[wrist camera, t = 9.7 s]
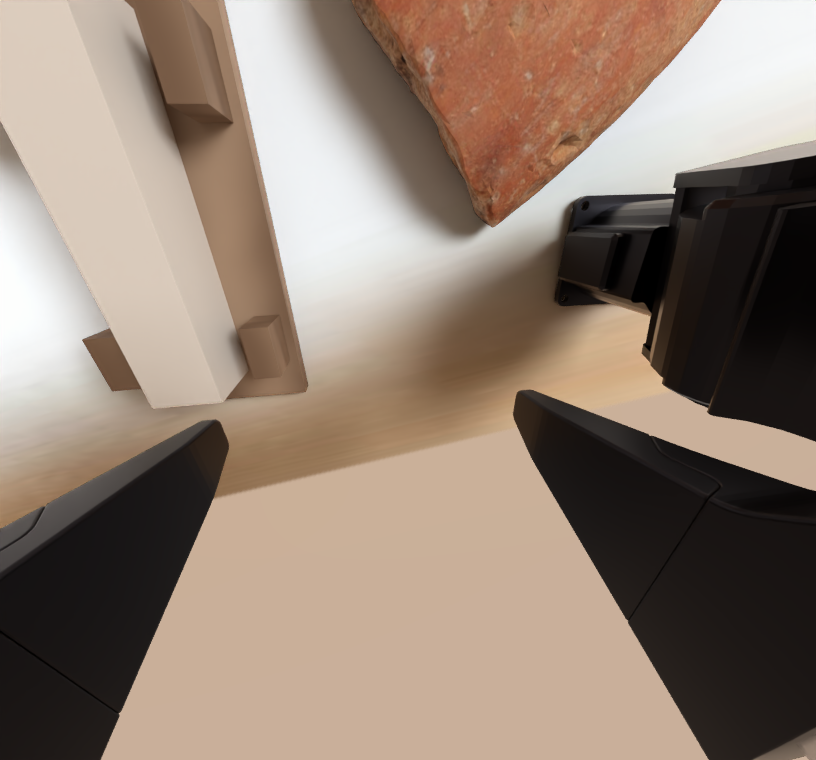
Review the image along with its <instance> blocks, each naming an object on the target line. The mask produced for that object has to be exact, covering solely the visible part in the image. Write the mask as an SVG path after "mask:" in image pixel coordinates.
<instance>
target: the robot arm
mask: <svg viewBox="0 0 816 760" xmlns="http://www.w3.org/2000/svg"><path fill="white" fill-rule="evenodd" d="M673 188H676V192H675V194H641V195H605V196H583V197H580V198H578V199H577V200H576V202H575V203H574V206H573V210H572V215H571V220H570V225H569V230H568V235H567V236H566V239H565V244H564V249H563V254H562V259H561V264H560V269H559V274H558V276H559V279H558V284H557V289H556V294H555V303H556V304H558V305H560V306H574V305H589V304H605V303H611V304H614V305H617V306H620V307H623V308H627V309H630V310H633V311H636V312H639V313H642V314H645V315H648V316H651V319H650V324H649V329H648V334H647V340H646V343H645V344H643V348H642V354H643V355H644V356H645V358H646V359H647V360H648V361H649V362H650V363H651V366H652V367H653V368H654V369H655V370H656V372H657V373H658V374H659V375H660V376H662V377H663V381H662V384H663V385H664V386H665V387H667V388H668V389H670V390H672V391H674V392H676V393H677V394H680V395H681V396H683V397H686V398H688V399H689V400H691V401H693V402H695V403H697V404H700V405H702V406H705V407H707V408H708V411H707V412H708V413H709V414H710V415H713V416H718V417H724V418H731V419H737V420H743V421H749V422H753V423H757V424H761V425H765V426H769V427H773V428H777V429H781V430H784V431H787V432H790V433H793V434H796V435H799V436H802V437H804V438H807V439H810V440H813V441H815V442H816V140H815V141H810V142H805V143H800V144H795V145H790V146H785V147H780V148H776V149H772V150H768V151H764V152H760V153H756V154H752V155H748V156H744V157H740V158H736V159H732V160H728V161H724V162H720V163H716V164H712V165H708V166H704V167H700V168H696V169H692V170H688V171H684V172H680V173H676V176H675V181H674V186H673ZM583 202H584V203H585V207H584V209H583V210H582V209H581V205H582V203H583ZM564 295H565V298H564V300H563V301H561V299H562V297H563V296H564ZM513 416H514V420H515V422H516V425H517V427H518V429H519V431H520V434H521V436H522V438H523V440H524V443H525V445H526V447H527V449H528V452H529V454H530V456H531V458H532V460H533V462H534V463H535V465H536V467H537V469H538V470H539V472H540V474H541V475H542V477H543V479H544V480H545V482H546V484H547V485H548V487H549V489H550V491H551V492H552V494H553V496H554V497H555V499H556V501H557V503H558V504H559V506H560V508H561V509H562V511H563V513H564V514H565V516H566V518H567V519H568V521H569V523H570V525H571V526H572V528H573V530H574V531H575V533H576V535H577V536H578V538H579V540H580V542H581V543H582V545H583V547H584V548H585V550H586V552H587V554H588V555H589V557H590V558H591V560H592V562H593V563H594V565H595V567H596V569H597V570H598V572H599V574H600V576H601V577H602V579H603V581H604V582H605V584H606V586H607V587H608V589H609V591H610V593H611V594H612V596H613V598H614V599H615V601H616V603H617V604H618V606H619V608H620V610H621V611H622V613H623V615H624V616H625V618H626V619H627V620H628V624H629V625H630V627H631V628H632V630H633V632H634V634H635V636H636V637H637V639H638V640H639V642H640V644H641V646H642V647H643V649H644V651H645V652H646V654H647V656H648V657H649V659H650V661H651V662H652V664H653V666H654V668H655V669H656V671H657V673H658V674H659V676H660V678H661V680H662V681H663V683H664V685H665V686H666V688H667V690H668V692H669V693H670V695H671V697H672V698H673V700H674V702H675V703H676V705H677V706H678V708H679V710H680V712H681V714H682V715H683V717H684V718H685V720H686V722H687V724H688V725H689V727H690V729H691V730H692V732H693V734H694V736H695V737H696V739H697V741H698V742H699V744H700V746H701V748H702V749H703V751H704V752H705V754H706V756H707V758H708V759H709V760H791V759H796V758H800V757H804V756H806V757H807V758H808V759H809V760H816V491H813V490H809V489H806V488H802V487H799V486H796V485H793V484H789V483H787V482H784V481H781V480H778V479H774V478H771V477H769V476H766V475H763V474H760V473H757V472H754V471H751V470H748V469H745V468H742V467H739V466H736V465H733V464H730V463H727V462H724V461H721V460H718V459H715V458H712V457H709V456H706V455H703V454H700V453H698V452H695V451H692V450H689V449H686V448H684V447H681V446H678V445H676V444H673V443H670V442H667V441H665V440H662V439H659V438H657V437H654V436H649V435H648V434H646V433H644V432H641V431H638V430H636V429H633V428H631V427H628V426H625V425H622V424H620V423H617V422H615V421H612V420H610V419H607V418H604V417H602V416H599V415H596V414H594V413H591V412H589V411H586V410H583V409H581V408H578V407H575V406H573V405H570V404H568V403H565V402H562V401H560V400H557V399H554V398H552V397H549V396H547V395H544V394H541V393H539V392H536V391H534V390H521V391H518V392H517V394H516V399H515V405H514V411H513ZM228 450H229V443H228V440H227V437H226V435H225V433H224V430H223V428H222V425H221V423H220V422H219V421H218V420H206V421H201V422H199V423H197V424H195V425H193V426H191V427H189V428H187V429H186V430H184V431H182V432H180V433H178V434H176V435H174V436H173V437H171V438H169V439H167V440H165V441H163V442H161V443H160V444H158V445H156V446H154V447H152V448H150V449H148V450H146V451H145V452H143V453H141V454H139V455H137V456H135V457H133V458H132V459H130V460H128V461H126V462H124V463H122V464H120V465H119V466H117V467H115V468H113V469H111V470H109V471H107V472H106V473H104V474H102V475H100V476H98V477H96V478H94V479H93V480H91V481H89V482H87V483H85V484H83V485H81V486H80V487H78V488H76V489H74V490H72V491H70V492H68V493H67V494H65V495H63V496H61V497H59V498H57V499H55V500H53V501H52V502H50V503H48V504H47V505H46V507H40V508H38V509H37V510H35V511H33V512H31V513H29V514H27V515H25V516H24V517H22V518H20V519H18V520H16V521H14V522H12V523H10V524H8V525H7V526H5V527H3V528H1V529H0V760H101V757H102V755H103V753H104V750H105V748H106V746H107V743H108V741H109V739H110V737H111V734H112V732H113V730H114V728H115V725H116V723H117V720H118V718H119V714H118V713H120V712H121V711H122V708H123V706H124V704H125V701H126V699H127V696H128V694H129V692H130V690H131V688H132V685H133V683H134V681H135V678H136V676H137V674H138V671H139V669H140V666H141V665H142V662H143V660H144V658H145V655H146V653H147V650H148V648H149V646H150V644H151V641H152V639H153V637H154V635H155V632H156V630H157V628H158V625H159V623H160V621H161V618H162V616H163V614H164V611H165V609H166V607H167V605H168V602H169V600H170V598H171V595H172V593H173V591H174V588H175V586H176V584H177V581H178V579H179V577H180V575H181V572H182V570H183V568H184V565H185V563H186V561H187V558H188V556H189V554H190V551H191V549H192V547H193V545H194V542H195V540H196V538H197V535H198V533H199V531H200V528H201V526H202V524H203V521H204V519H205V517H206V515H207V512H208V510H209V508H210V505H211V503H212V500H213V498H214V495H215V492H216V489H217V486H218V483H219V479H220V476H221V473H222V470H223V466H224V463H225V460H226V456H227V453H228Z"/></svg>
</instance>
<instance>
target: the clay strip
mask: <svg viewBox="0 0 816 760" xmlns="http://www.w3.org/2000/svg"><path fill="white" fill-rule="evenodd" d="M0 121H1V123H2V125H3V127H4V129H5V131H6V133H7V134H8V136H9V138H10V140H11V142H12V144H13V146H14V148H15V150H16V151H17V153H18V155H19V157H20V159H21V161H22V163H23V165H24V167H25V169H26V170H27V172H28V174H29V176H30V178H31V180H32V182H33V184H34V186H35V187H36V189H37V191H38V193H39V195H40V197H41V199H42V201H43V203H44V205H45V206H46V208H47V210H48V212H49V214H50V216H51V218H52V220H53V222H54V223H55V225H56V227H57V229H58V231H59V233H60V235H61V237H62V239H63V241H64V242H65V244H66V246H67V248H68V250H69V252H70V254H71V256H72V258H73V259H74V261H75V263H76V265H77V267H78V269H79V271H80V273H81V275H82V277H83V278H84V280H85V282H86V284H87V286H88V288H89V290H90V292H91V294H92V295H93V297H94V299H95V301H96V303H97V305H98V307H99V309H100V311H101V313H102V314H103V316H104V318H105V320H106V322H107V324H108V326H109V328H110V330H111V331H112V333H113V335H114V337H115V339H116V341H117V343H118V345H119V347H120V349H121V350H122V352H123V354H124V356H125V358H126V360H127V362H128V364H129V366H130V367H131V369H132V371H133V373H134V375H135V377H136V379H137V381H138V383H139V385H140V386H141V388H142V390H143V392H144V394H145V396H146V398H147V400H148V402H149V403H150V405H151V407H152V409H157V408H169V407H180V406H191V405H203V404H214V403H223V402H224V401H225V399H226V398H227V397H228V395H229V394H230V393H231V392H232V390H233V389H234V388H235V387H236V385H237V384H238V383H239V382H240V380H241V379H242V378H243V377H244V375H245V374H246V373H247V372H248V366H247V363H246V360H245V357H244V354H243V351H242V348H241V344H240V341H239V338H238V335H237V332H236V329H235V326H234V322H233V319H232V316H231V313H230V310H229V307H228V304H227V300H226V297H225V294H224V291H223V288H222V285H221V282H220V278H219V275H218V272H217V269H216V266H215V263H214V260H213V256H212V253H211V250H210V247H209V244H208V241H207V238H206V234H205V231H204V228H203V225H202V222H201V219H200V216H199V213H198V209H197V206H196V203H195V200H194V197H193V194H192V191H191V187H190V184H189V181H188V178H187V175H186V172H185V169H184V165H183V162H182V159H181V156H180V153H179V150H178V147H177V143H176V140H175V137H174V134H173V131H172V128H171V125H170V121H169V118H168V115H167V112H166V109H165V106H164V103H163V99H162V96H161V93H160V90H159V87H158V84H157V81H156V77H155V74H154V71H153V68H152V65H151V62H150V59H149V55H148V52H147V49H146V46H145V43H144V40H143V37H142V34H141V30H140V27H139V24H138V21H137V18H136V15H135V12H134V9H133V8H132V7H131V6H130V5H129V4H128V3H127V2H126V1H124V0H0Z"/></svg>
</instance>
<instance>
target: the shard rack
mask: <svg viewBox="0 0 816 760" xmlns="http://www.w3.org/2000/svg"><path fill="white" fill-rule="evenodd" d="M124 1H126V2H127V3H128V4H129V5H130V6H131V7H132V8H133V9H134V12H135V15H136V18H137V21H138V24H139V27H140V30H141V34H142V37H143V40H144V43H145V46H146V49H147V52H148V55H149V59H150V62H151V65H152V68H153V71H154V74H155V77H156V81H157V84H158V87H159V90H160V93H161V96H162V99H163V103H164V106H165V109H166V112H167V115H168V118H169V121H170V125H171V128H172V131H173V134H174V137H175V140H176V143H177V147H178V150H179V153H180V156H181V159H182V162H183V165H184V169H185V172H186V175H187V178H188V181H189V184H190V187H191V191H192V194H193V197H194V200H195V203H196V206H197V209H198V213H199V216H200V219H201V222H202V225H203V228H204V231H205V234H206V238H207V241H208V244H209V247H210V250H211V253H212V256H213V260H214V263H215V266H216V269H217V272H218V275H219V278H220V282H221V285H222V288H223V291H224V294H225V297H226V300H227V304H228V307H229V310H230V313H231V316H232V319H233V322H234V326H235V329H236V332H237V335H238V338H239V341H240V344H241V348H242V351H243V354H244V357H245V360H246V363H247V366H248V372H247V373H246V374H245V375H244V377H243V378H242V379H241V380H240V382H239V383H238V384H237V385H236V387H235V388H234V389H233V390H232V392H231V393H230V394H229V395H228V397H227V398H226V399H231V398H242V397H254V396H265V395H276V394H288V393H299V392H306V390H307V387H308V382H307V378H306V373H305V368H304V364H303V359H302V355H301V350H300V346H299V341H298V336H297V332H296V327H295V323H294V318H293V313H292V309H291V304H290V300H289V295H288V291H287V286H286V281H285V277H284V272H283V268H282V263H281V259H280V254H279V249H278V245H277V240H276V236H275V231H274V227H273V222H272V217H271V213H270V208H269V204H268V199H267V195H266V190H265V185H264V181H263V176H262V172H261V167H260V162H259V158H258V153H257V149H256V144H255V140H254V135H253V130H252V126H251V121H250V117H249V112H248V108H247V103H246V98H245V94H244V89H243V85H242V80H241V76H240V71H239V66H238V62H237V57H236V53H235V48H234V44H233V39H232V34H231V30H230V25H229V21H228V16H227V12H226V7H225V2H224V0H124ZM82 341H83V342H84V344H85V346H86V347H87V349H88V351H89V353H90V354H91V356H92V358H93V359H94V361H95V363H96V364H97V366H98V368H99V370H100V371H101V373H102V375H103V376H104V378H105V380H106V382H107V383H108V385H109V387H110V388H111V390H112V391H120V390H132V389H142V388H141V386H140V385H139V383H138V381H137V379H136V377H135V375H134V373H133V371H132V369H131V367H130V366H129V364H128V362H127V360H126V358H125V356H124V354H123V352H122V350H121V349H120V347H119V345H118V343H117V341H116V339H115V337H114V335H113V333H112V331H111V330H110V328H109V329H107V330H104V331H102V332H100V333H97V334H95V335H92V336H90V337H87V338H85V339H83V340H82Z"/></svg>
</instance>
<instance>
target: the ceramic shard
mask: <svg viewBox="0 0 816 760" xmlns="http://www.w3.org/2000/svg"><path fill="white" fill-rule="evenodd" d="M720 1H721V0H352V3H353V6H354V8H355V10H356V12H357V14H358V16H359V17H360V19H361V20H362V22H363V24H364V25H365V27H366V28H367V29H368V30H369V31H370V33H371V35H372V36H373V38H374V39H375V41H376V42H377V43H378V44H379V46H380V47H381V49H382V50H383V51H384V53H385V54H386V55H387V56H388V58H389V59H390V60H391V62H392V64H393V66H394V68H395V69H396V71H397V72H398V74H399V75H400V76H401V77H402V78H403V79H404V80H405V82H406V83H407V84H408V86H409V88H410V91H411V92H412V93H413V94H415V95H417V97H418V99H419V100H420V102H421V103H422V104H423V105H424V107H425V108H426V110H427V111H428V112H429V113H430V115H431V116H432V118H433V119H434V121H435V123H436V124H437V126H438V132H439V136H440V138H441V141H442V143H443V145H444V148H445V150H446V152H447V154H448V155H449V156H450V158H451V160H452V162H453V164H454V165H455V167H456V168H457V169H458V171H459V172H460V174H461V176H462V177H463V178H464V179H465V181H466V183H467V187H468V191H469V194H470V197H471V201H472V204H473V208H474V211H475V213H476V214H477V216H479V217H480V218H481V219H482V220H483V221H484V222H485V223H486V224H488V225H490V226H491V227H495V226H496V225H498V224H499V223H500V222H501V221H503V220H504V219H505V218H506V217H507V216H509V215H510V214H511V213H512V212H514V211H515V210H516V209H517V208H519V207H520V206H521V205H522V204H524V203H525V202H526V201H528V200H529V199H530V198H531V197H532V196H534V195H535V194H536V193H537V192H539V191H540V190H541V189H542V188H543V187H544V186H545V185H546V184H547V183H549V182H550V181H551V180H552V179H553V178H554V177H556V176H557V175H558V174H559V173H560V172H561V171H562V170H563V169H564V168H565V167H566V166H567V165H569V164H570V163H571V162H572V161H573V160H574V159H576V158H577V157H578V156H579V155H580V154H581V153H582V152H583V151H584V150H586V149H587V148H588V147H589V146H590V145H591V144H592V142H593V141H594V140H595V139H597V138H598V137H599V136H600V135H601V134H602V133H603V132H604V131H605V130H606V129H607V128H608V127H610V126H611V125H612V124H613V123H614V122H615V121H616V120H617V119H618V118H619V117H620V116H621V115H622V114H623V113H624V112H625V111H626V110H627V109H628V108H629V107H630V106H631V105H632V103H633V102H634V101H635V100H636V99H637V98H638V97H639V96H640V95H641V94H642V93H643V92H644V91H645V89H646V88H647V87H648V86H649V85H650V84H651V82H652V81H653V80H654V79H655V78H656V77H657V76H658V75H659V74H660V73H661V72H662V71H663V70H664V69H665V68H666V67H667V66H668V65H669V64H670V63H671V61H672V60H673V59H674V58H675V57H676V56H677V54H678V53H679V52H680V51H681V50H682V49H683V47H684V46H685V45H686V44H687V43H688V41H689V40H690V39H691V38H692V37H693V35H694V34H695V33H696V32H697V31H698V30H699V29H700V27H701V26H702V25H703V23H704V22H705V21H706V19H707V18H708V17H709V15H710V14H711V13H712V11H713V10H714V9H715V7H716V6H717V5H718V4H719V2H720Z"/></svg>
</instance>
